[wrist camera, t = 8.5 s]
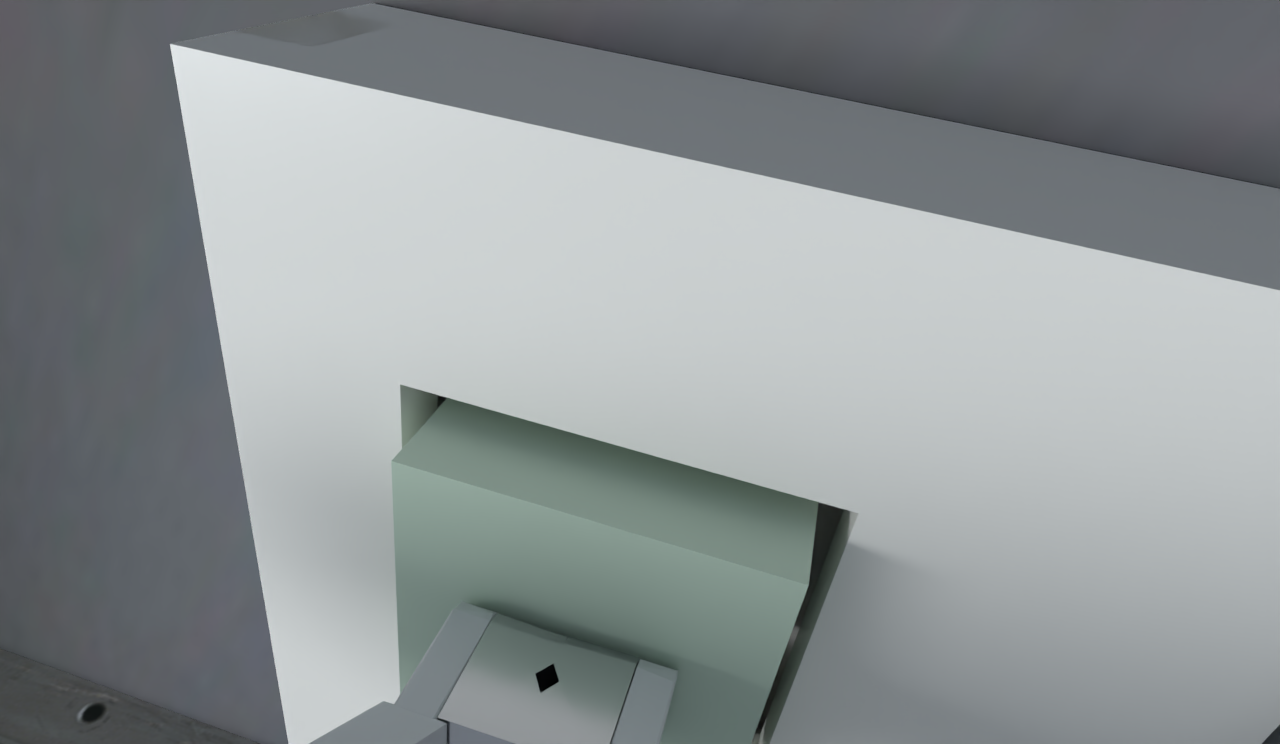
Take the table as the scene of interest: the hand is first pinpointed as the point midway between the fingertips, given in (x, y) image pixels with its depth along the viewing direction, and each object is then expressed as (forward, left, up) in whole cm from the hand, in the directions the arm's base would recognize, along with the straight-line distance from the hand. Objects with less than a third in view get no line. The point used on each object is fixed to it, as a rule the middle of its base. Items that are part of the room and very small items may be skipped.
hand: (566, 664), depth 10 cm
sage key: (0, 0, -3) cm, 3 cm away
